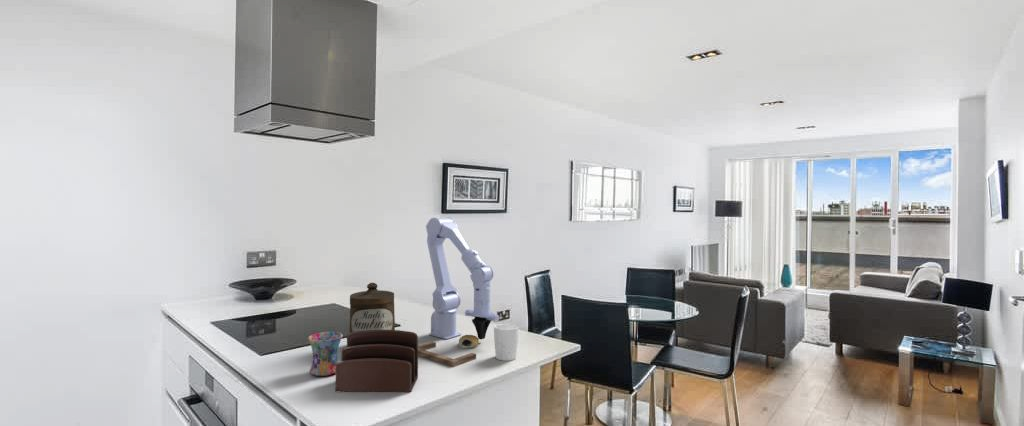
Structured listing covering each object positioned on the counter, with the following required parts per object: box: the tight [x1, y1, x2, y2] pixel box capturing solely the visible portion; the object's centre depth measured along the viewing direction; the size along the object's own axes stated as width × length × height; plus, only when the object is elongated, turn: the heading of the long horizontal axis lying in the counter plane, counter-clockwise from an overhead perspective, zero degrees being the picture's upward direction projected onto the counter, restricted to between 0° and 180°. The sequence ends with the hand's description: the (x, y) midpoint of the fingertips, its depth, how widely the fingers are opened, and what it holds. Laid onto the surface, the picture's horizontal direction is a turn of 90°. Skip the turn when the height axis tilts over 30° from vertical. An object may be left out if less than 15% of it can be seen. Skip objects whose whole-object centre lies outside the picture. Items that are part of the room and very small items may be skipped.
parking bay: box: [418, 341, 477, 368], centre depth 152 cm, size 21×10×2 cm, turn 51°
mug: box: [307, 331, 344, 377], centre depth 137 cm, size 12×9×11 cm
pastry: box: [457, 334, 480, 349], centre depth 164 cm, size 9×7×4 cm
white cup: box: [493, 323, 520, 362], centre depth 150 cm, size 8×8×10 cm
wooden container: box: [349, 282, 396, 333], centre depth 160 cm, size 15×15×22 cm
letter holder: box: [335, 329, 419, 393], centre depth 127 cm, size 10×20×14 cm, turn 91°
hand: (481, 338), depth 166 cm, fingers closed
